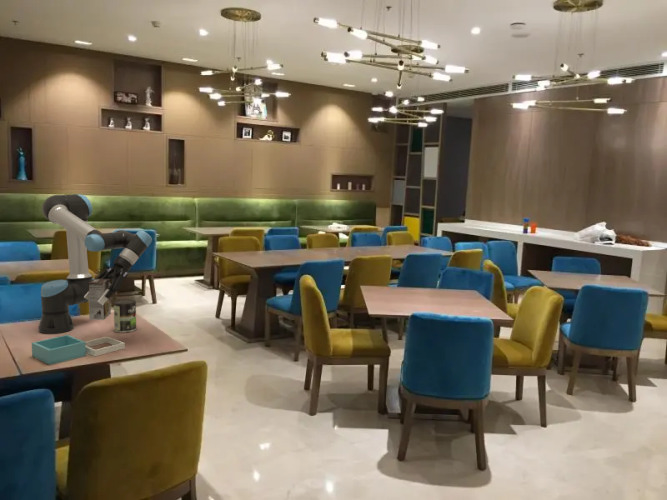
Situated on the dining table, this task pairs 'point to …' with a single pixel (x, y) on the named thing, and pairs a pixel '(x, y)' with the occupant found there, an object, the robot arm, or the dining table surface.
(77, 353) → the bin
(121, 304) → the coffee can
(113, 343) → the collar
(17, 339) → the dining table surface
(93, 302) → the coffee box
